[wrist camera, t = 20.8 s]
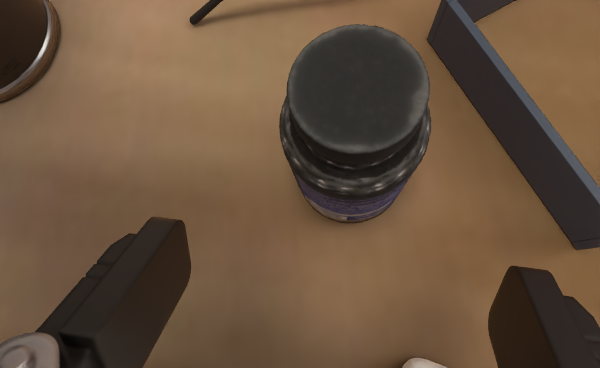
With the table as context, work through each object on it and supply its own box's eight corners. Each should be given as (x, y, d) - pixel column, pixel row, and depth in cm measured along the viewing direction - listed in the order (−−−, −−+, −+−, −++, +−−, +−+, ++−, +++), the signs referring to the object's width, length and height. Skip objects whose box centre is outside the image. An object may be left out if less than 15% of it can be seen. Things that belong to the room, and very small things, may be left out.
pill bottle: (421, 192, 23) (495, 118, 12) (329, 243, 23) (322, 214, 12) (366, 107, 24) (389, -26, 14) (279, 154, 24) (234, 58, 13)
